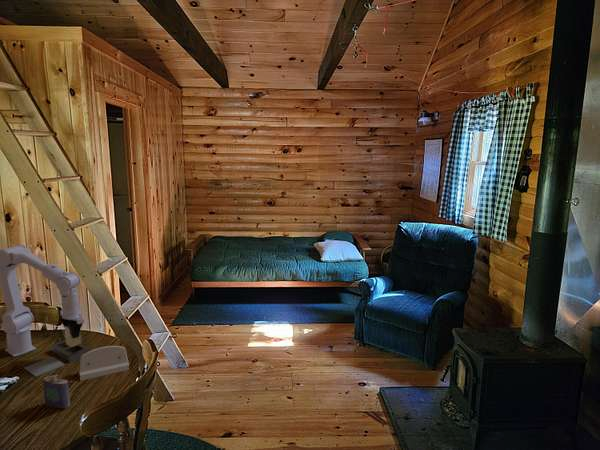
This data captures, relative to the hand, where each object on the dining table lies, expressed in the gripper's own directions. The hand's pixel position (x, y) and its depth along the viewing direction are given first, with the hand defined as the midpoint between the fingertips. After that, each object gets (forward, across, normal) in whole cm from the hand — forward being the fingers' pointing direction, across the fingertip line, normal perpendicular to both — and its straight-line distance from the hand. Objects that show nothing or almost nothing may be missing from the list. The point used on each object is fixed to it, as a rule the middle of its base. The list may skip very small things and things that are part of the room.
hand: (73, 335), depth 153 cm
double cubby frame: (+8, +4, 0) cm, 9 cm away
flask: (+9, -29, +19) cm, 35 cm away
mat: (+8, 0, +11) cm, 14 cm away
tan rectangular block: (+3, 0, 0) cm, 3 cm away
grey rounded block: (+9, -21, -1) cm, 22 cm away
